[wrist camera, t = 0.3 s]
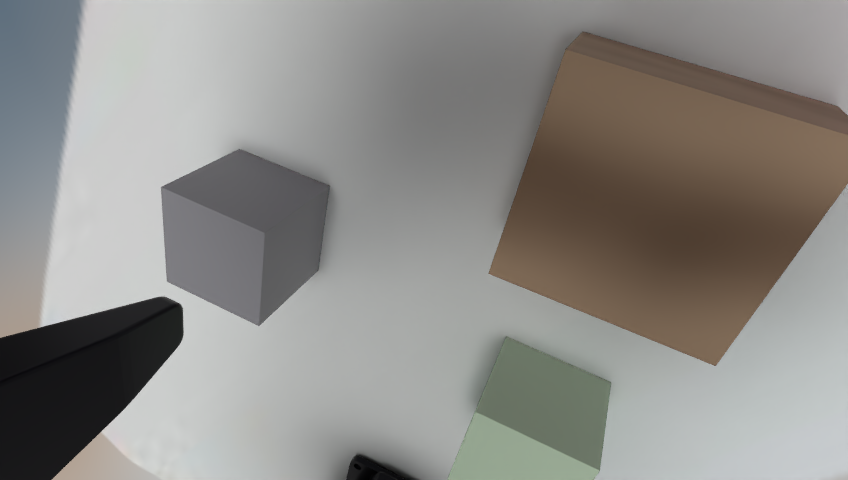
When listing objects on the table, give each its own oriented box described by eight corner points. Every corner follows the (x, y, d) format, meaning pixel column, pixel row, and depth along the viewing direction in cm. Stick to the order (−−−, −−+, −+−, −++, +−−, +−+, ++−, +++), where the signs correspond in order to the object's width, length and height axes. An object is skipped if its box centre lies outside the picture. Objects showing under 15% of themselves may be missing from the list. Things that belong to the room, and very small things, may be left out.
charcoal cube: (319, 269, 28) (259, 325, 24) (237, 233, 29) (167, 281, 25) (330, 185, 25) (265, 233, 21) (240, 148, 26) (161, 187, 22)
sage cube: (570, 448, 27) (553, 538, 23) (477, 404, 28) (445, 483, 24) (611, 381, 24) (599, 470, 20) (506, 335, 25) (475, 411, 21)
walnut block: (708, 300, 21) (715, 366, 18) (514, 225, 23) (488, 273, 19) (835, 104, 17) (876, 143, 13) (584, 30, 18) (565, 49, 15)
